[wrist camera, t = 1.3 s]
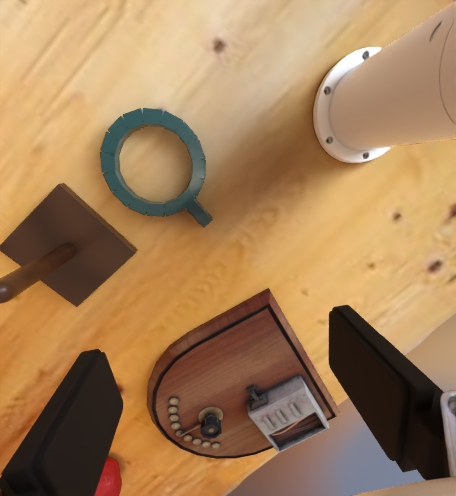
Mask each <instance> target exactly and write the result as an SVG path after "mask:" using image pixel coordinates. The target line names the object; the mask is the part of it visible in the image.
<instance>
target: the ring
mask: <svg viewBox="0 0 456 496" xmlns="http://www.w3.org/2000/svg"><path fill="white" fill-rule="evenodd" d="M123 117H124V118H123ZM123 117H122V116H120V117H119V118H118V119H117V120H116V121H115V122H114V123H113V125H112V126H111V127H110V128H109V129H108V131H109V132H110V133H109V132H106V135H105V138H104V141H103V144H102V147H101V151H103V152H100V157H101V168H102V172H107V173H104V174H103V176H104V178H105V180H106V182H107V184H108V186H109V188H110V190H111V191H114V192H113V194H114V195H115V196H116V197H117V198H118V199H119V200H120V201H121V202H122V203H123V204H124V205H125V206H126V207H127V206H129V207H128V208H130V209H132V210H134V211H137V212H139V213H141V214H143V215H146V214H147V216H163V217H164V216H165V215H166V216H169V215H171V214H174V213H177V212H180V211H182V210H183V209H185V208H186V209H187V210H188V211H189V213H190V214H191V215H192V216H193V217H194V218H195V219H196V220H197V221H198V222H199V223H200V224H201V225H202V226H203V227H205V226H207V225H208V224H209V223H210V222H211V221H212V220H213V219H212V217H211V216H210V214H209V213H208V212H207V211H206V210H205V209H204V208H203V207H202V206H201V205H200V204H199V202H198V201H197V200H196V196H198V194H199V192H200V190H201V187H202V185H203V183H204V180H203V179H205V162H206V161H205V160H203V159H205V156H204V153H203V150H202V147H201V144H200V141H199V140H198V138H197V136H196V135H195V134H194V132H193V131H192V130H191V129H190V128H189V126H188V125H187V124H186V123H185V122H183V120H181V119H179V118H178V117H176V116H174V115H172V114H170V113H169V112H167V111H165V112H164V111H163V110H159V109H149V108H143V110H142V109H141V108H140V109H137V110H134V111H131V112H128V113H126V114H123ZM147 126H153V127H164V128H165V129H167V130H169V131H171V132H173V133H175V134H177V135H178V136H179V137H180V139H181V140H182V141H183V142H184V143H185V144H186V146H187V148H188V151H189V153H190V156H191V159H192V177H191V180H190V182H189V184H188V187H187V189H186V190H185V191H184V192H183V193H182V194H181V195H180V196H179V197H178V198H176V199H173V200H170V201H167V202H150V201H148V200H146V199H143V198H141V197H139V196H137V195H136V194H135V193H134V192H133V191H132V190H131V189H130V188H129V187H128V186H127V185H126V183H125V181H124V179H123V177H122V175H121V172H120V164H119V154H120V151H121V148H122V145H123V142H124V141H125V140H126V139H127V138H128V137H129V136H130V135H131V134H132V133H133V132H134V131H136V130H139V129H141V128H144V127H147Z"/></svg>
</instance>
